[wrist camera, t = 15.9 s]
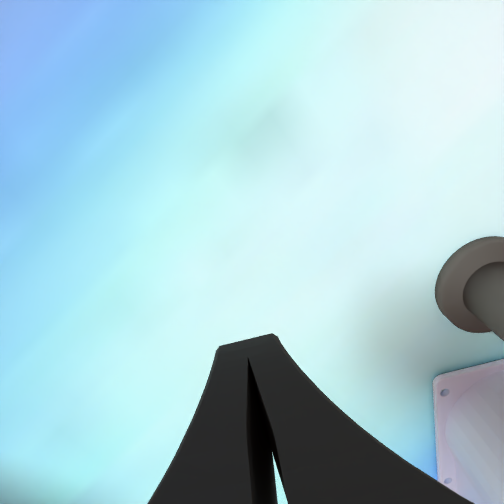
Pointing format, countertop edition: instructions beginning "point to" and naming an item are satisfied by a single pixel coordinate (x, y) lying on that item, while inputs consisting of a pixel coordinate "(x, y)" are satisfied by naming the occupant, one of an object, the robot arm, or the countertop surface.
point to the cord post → (474, 286)
